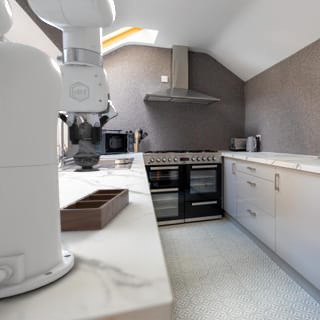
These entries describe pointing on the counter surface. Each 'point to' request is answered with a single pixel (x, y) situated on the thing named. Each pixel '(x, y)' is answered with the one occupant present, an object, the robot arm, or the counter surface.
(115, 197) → the divided wooden tray
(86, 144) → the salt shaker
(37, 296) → the counter surface
